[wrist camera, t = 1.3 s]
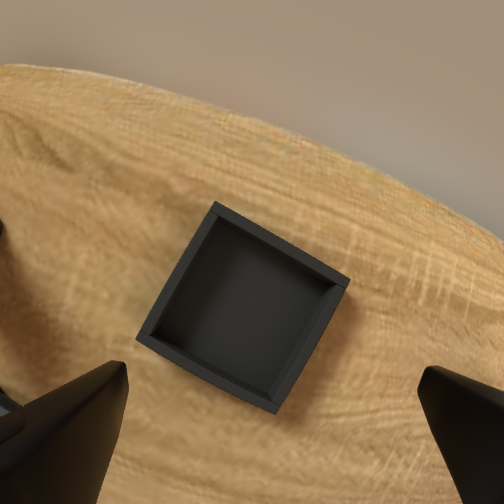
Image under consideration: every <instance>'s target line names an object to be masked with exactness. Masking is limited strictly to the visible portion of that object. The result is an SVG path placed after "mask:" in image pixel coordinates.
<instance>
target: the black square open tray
mask: <svg viewBox="0 0 504 504" xmlns="http://www.w3.org/2000/svg"><path fill="white" fill-rule="evenodd" d="M350 280H351V279H350V278H348V277H346V276H345V275H343V274H341V273H340V272H338V271H336V270H334V269H333V268H331V267H329V266H328V265H326V264H324V263H323V262H321V261H319V260H318V259H316V258H314V257H312V256H311V255H309V254H307V253H306V252H304V251H302V250H300V249H299V248H297V247H295V246H294V245H292V244H290V243H288V242H287V241H285V240H283V239H282V238H280V237H278V236H276V235H275V234H273V233H271V232H269V231H268V230H266V229H264V228H262V227H261V226H259V225H257V224H255V223H254V222H252V221H250V220H248V219H247V218H245V217H243V216H241V215H240V214H238V213H236V212H234V211H233V210H231V209H229V208H227V207H225V206H224V205H222V204H220V203H218V202H217V201H215V202H214V203H213V205H212V206H211V208H210V211H208V213H207V215H206V216H205V218H204V220H203V221H202V223H201V224H200V226H199V228H198V229H197V231H196V233H195V234H194V236H193V238H192V239H191V241H190V243H189V244H188V246H187V248H186V250H185V251H184V253H183V255H182V256H181V258H180V260H179V261H178V263H177V265H176V267H175V268H174V270H173V272H172V274H171V275H170V277H169V279H168V281H167V282H166V284H165V286H164V288H163V289H162V291H161V293H160V295H159V297H158V298H157V300H156V302H155V304H154V305H153V307H152V309H151V311H150V313H149V315H148V316H147V318H146V320H145V322H144V324H143V326H142V327H141V330H140V331H139V333H138V335H137V337H136V338H135V339H136V340H137V341H138V342H140V343H142V344H143V345H145V346H146V347H148V348H150V349H151V350H153V351H155V352H156V353H158V354H160V355H161V356H163V357H165V358H166V359H168V360H170V361H171V362H173V363H175V364H176V365H178V366H180V367H182V368H183V369H185V370H187V371H189V372H191V373H192V374H194V375H196V376H198V377H200V378H201V379H203V380H205V381H207V382H209V383H211V384H213V385H215V386H216V387H218V388H220V389H222V390H224V391H226V392H228V393H230V394H232V395H234V396H236V397H238V398H240V399H242V400H244V401H246V402H248V403H250V404H253V405H255V406H257V407H259V408H261V409H263V410H265V411H268V412H270V413H272V414H274V415H276V413H277V412H278V410H279V408H280V407H281V406H280V405H282V403H283V402H284V400H285V398H286V397H287V395H288V393H289V392H290V390H291V389H292V387H293V385H294V383H295V382H296V380H297V378H298V377H299V375H300V373H301V372H302V370H303V368H304V366H305V365H306V363H307V361H308V359H309V358H310V356H311V354H312V352H313V351H314V349H315V347H316V345H317V343H318V342H319V340H320V338H321V336H322V334H323V332H324V330H325V329H326V327H327V325H328V323H329V321H330V319H331V317H332V315H333V313H334V312H335V310H336V308H337V306H338V304H339V302H340V300H341V298H342V296H343V294H344V292H345V289H346V288H347V286H348V284H349V282H350Z"/></svg>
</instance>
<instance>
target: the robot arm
mask: <svg viewBox="0 0 504 504" xmlns="http://www.w3.org/2000/svg"><path fill="white" fill-rule="evenodd" d="M128 392H129V384H128V376H127V368H126V364H125V363H124V362H121V361H114V360H111V361H108V362H106V363H105V364H103V365H101V366H99V367H97V368H95V369H93V370H91V371H90V372H88V373H86V374H84V375H82V376H80V377H78V378H76V379H74V380H72V381H71V382H69V383H67V384H65V385H63V386H61V387H59V388H57V389H55V390H53V391H51V392H49V393H47V394H45V395H43V396H41V397H39V398H38V399H36V400H34V401H32V402H30V403H28V404H26V405H24V408H23V407H20V408H18V409H16V410H14V411H12V412H9V413H7V414H5V415H3V416H1V417H0V504H96V502H97V499H98V496H99V493H100V490H101V487H102V484H103V481H104V478H105V475H106V472H107V469H108V466H109V463H110V460H111V457H112V454H113V451H114V448H115V446H116V443H117V440H118V437H119V432H120V428H121V424H122V419H123V414H124V410H125V406H126V401H127V397H128ZM417 393H418V397H419V399H420V402H421V405H422V408H423V410H424V413H425V416H426V419H427V422H428V424H429V427H430V430H431V432H432V434H433V436H434V439H435V441H436V443H437V445H438V447H439V449H440V452H441V454H442V456H443V458H444V460H445V463H446V465H447V467H448V469H449V472H450V474H451V476H452V478H453V481H454V483H455V486H456V488H457V490H458V493H459V495H460V498H461V500H462V502H463V504H504V391H501V390H499V389H496V388H494V387H491V386H488V385H486V384H483V383H481V382H478V381H476V380H473V379H470V378H468V377H465V376H463V375H460V374H458V373H455V372H453V371H450V370H448V369H445V368H443V367H440V366H437V365H436V366H428V367H426V369H425V370H424V372H423V375H422V378H421V380H420V383H419V385H418V389H417Z"/></svg>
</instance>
